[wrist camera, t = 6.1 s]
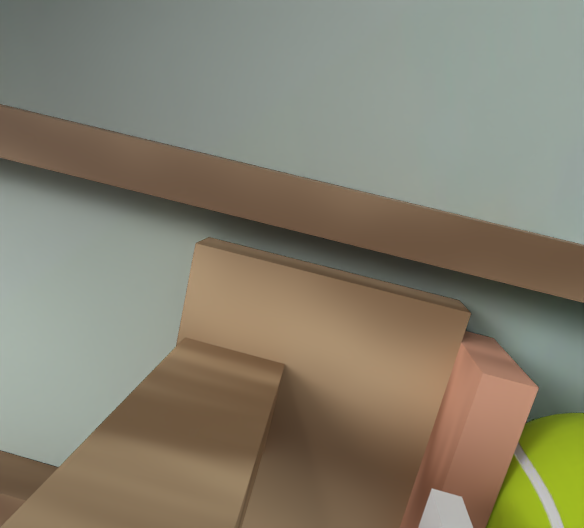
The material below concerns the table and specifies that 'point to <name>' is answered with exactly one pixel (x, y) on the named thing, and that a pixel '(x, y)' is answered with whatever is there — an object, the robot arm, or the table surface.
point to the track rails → (277, 221)
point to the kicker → (298, 409)
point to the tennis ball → (544, 476)
